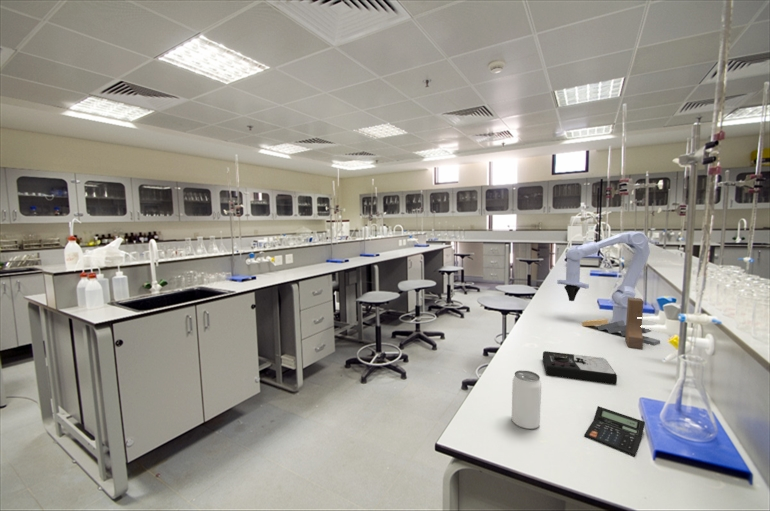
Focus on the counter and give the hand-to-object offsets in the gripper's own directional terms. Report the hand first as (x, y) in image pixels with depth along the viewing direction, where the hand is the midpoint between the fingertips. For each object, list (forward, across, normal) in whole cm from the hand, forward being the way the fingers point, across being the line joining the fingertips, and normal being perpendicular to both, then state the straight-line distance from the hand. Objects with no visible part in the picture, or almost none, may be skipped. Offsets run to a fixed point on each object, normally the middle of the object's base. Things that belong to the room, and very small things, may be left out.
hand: (571, 300), depth 160 cm
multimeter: (+11, +34, -49) cm, 61 cm away
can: (+11, +45, -87) cm, 99 cm away
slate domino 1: (+10, +14, +1) cm, 17 cm away
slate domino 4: (+10, +26, +1) cm, 28 cm away
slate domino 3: (+9, +23, +1) cm, 25 cm away
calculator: (+11, +58, -73) cm, 94 cm away
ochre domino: (+10, +7, 0) cm, 12 cm away
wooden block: (+11, +31, -8) cm, 33 cm away
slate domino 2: (+10, +18, 0) cm, 21 cm away
